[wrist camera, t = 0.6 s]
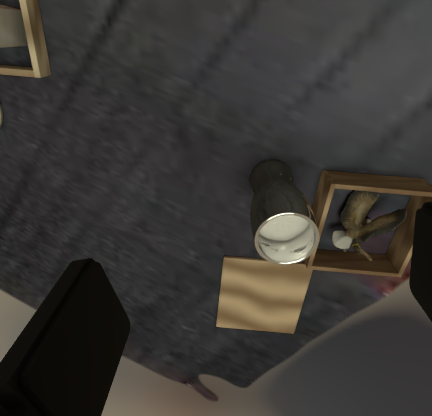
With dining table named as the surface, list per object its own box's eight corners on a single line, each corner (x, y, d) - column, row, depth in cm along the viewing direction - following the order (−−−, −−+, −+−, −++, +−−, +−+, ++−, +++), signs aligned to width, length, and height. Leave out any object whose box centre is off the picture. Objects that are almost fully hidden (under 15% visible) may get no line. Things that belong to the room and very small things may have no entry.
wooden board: (223, 255, 52) (223, 257, 51) (313, 263, 52) (314, 265, 51) (216, 324, 60) (216, 326, 60) (293, 331, 60) (293, 333, 60)
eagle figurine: (378, 247, 48) (414, 205, 43) (365, 273, 43) (404, 228, 38) (334, 220, 51) (362, 176, 45) (317, 241, 46) (347, 195, 40)
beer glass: (288, 203, 46) (311, 270, 33) (242, 197, 46) (247, 262, 33) (301, 159, 43) (330, 215, 30) (251, 153, 43) (259, 206, 30)
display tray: (322, 170, 44) (331, 183, 40) (423, 178, 43) (442, 193, 40) (300, 250, 51) (306, 268, 47) (387, 258, 51) (400, 277, 47)
